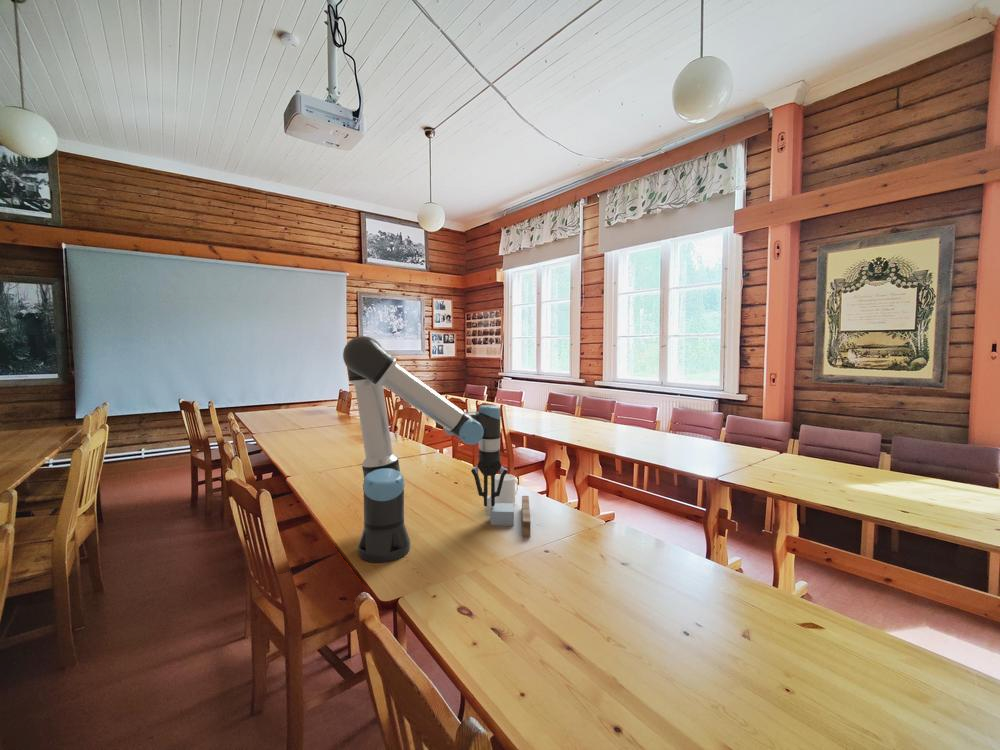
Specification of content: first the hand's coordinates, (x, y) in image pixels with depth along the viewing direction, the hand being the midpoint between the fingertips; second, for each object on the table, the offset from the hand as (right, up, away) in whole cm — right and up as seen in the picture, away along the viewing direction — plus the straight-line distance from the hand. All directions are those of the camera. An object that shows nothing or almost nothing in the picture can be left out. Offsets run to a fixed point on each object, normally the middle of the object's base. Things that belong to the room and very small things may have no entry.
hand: (489, 514), depth 151 cm
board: (+13, -2, 0) cm, 13 cm away
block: (+5, -2, 0) cm, 5 cm away
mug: (+7, -1, +18) cm, 19 cm away
